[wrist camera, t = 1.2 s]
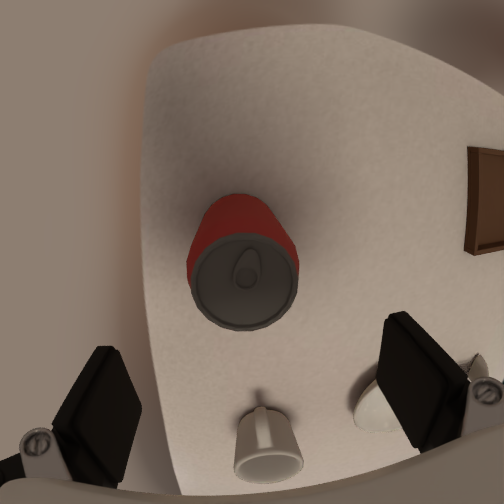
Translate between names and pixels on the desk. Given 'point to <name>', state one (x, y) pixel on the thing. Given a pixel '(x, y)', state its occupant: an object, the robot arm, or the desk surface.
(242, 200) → the beer can
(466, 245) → the tray
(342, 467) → the desk surface
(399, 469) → the robot arm
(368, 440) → the desk surface
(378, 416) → the spoon rest
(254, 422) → the cup
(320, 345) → the desk surface
